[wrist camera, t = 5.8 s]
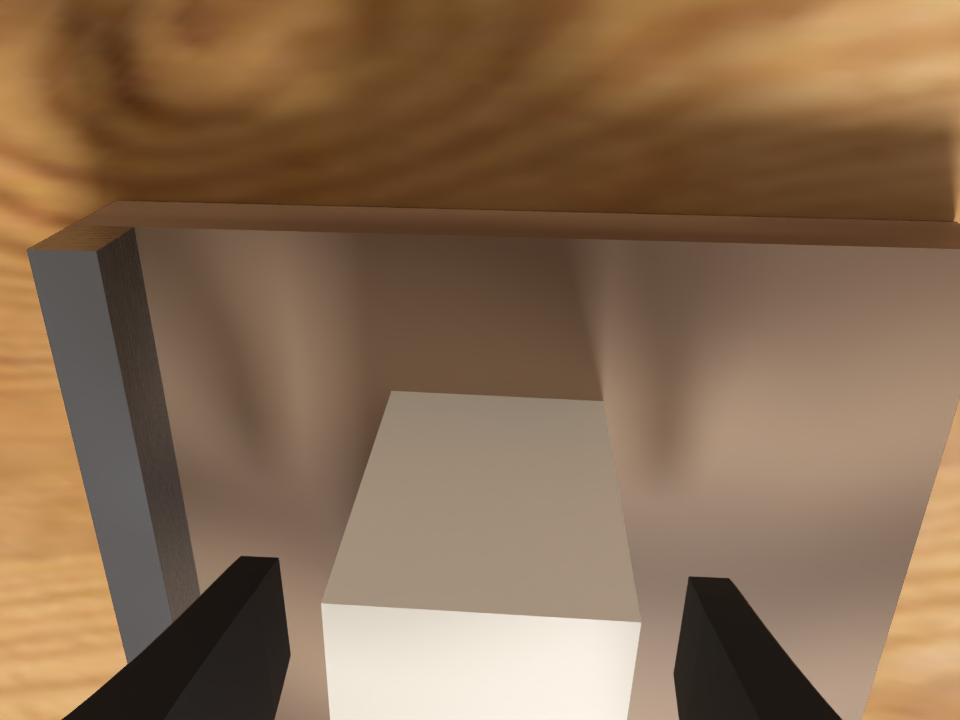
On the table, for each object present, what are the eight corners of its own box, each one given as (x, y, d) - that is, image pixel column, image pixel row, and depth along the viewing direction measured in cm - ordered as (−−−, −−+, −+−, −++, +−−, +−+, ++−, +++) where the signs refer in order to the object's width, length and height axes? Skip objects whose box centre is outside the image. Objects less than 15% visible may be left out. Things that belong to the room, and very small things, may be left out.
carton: (382, 390, 13) (307, 602, 9) (603, 401, 13) (641, 621, 9) (390, 638, 16) (334, 905, 11) (577, 650, 16) (596, 925, 11)
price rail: (63, 224, 12) (20, 249, 11) (134, 227, 12) (95, 251, 11) (174, 726, 17) (150, 777, 16) (225, 729, 17) (204, 780, 16)
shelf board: (115, 200, 14) (71, 225, 12) (956, 221, 13) (1005, 250, 12) (204, 672, 19) (178, 727, 17) (824, 704, 18) (847, 764, 17)
